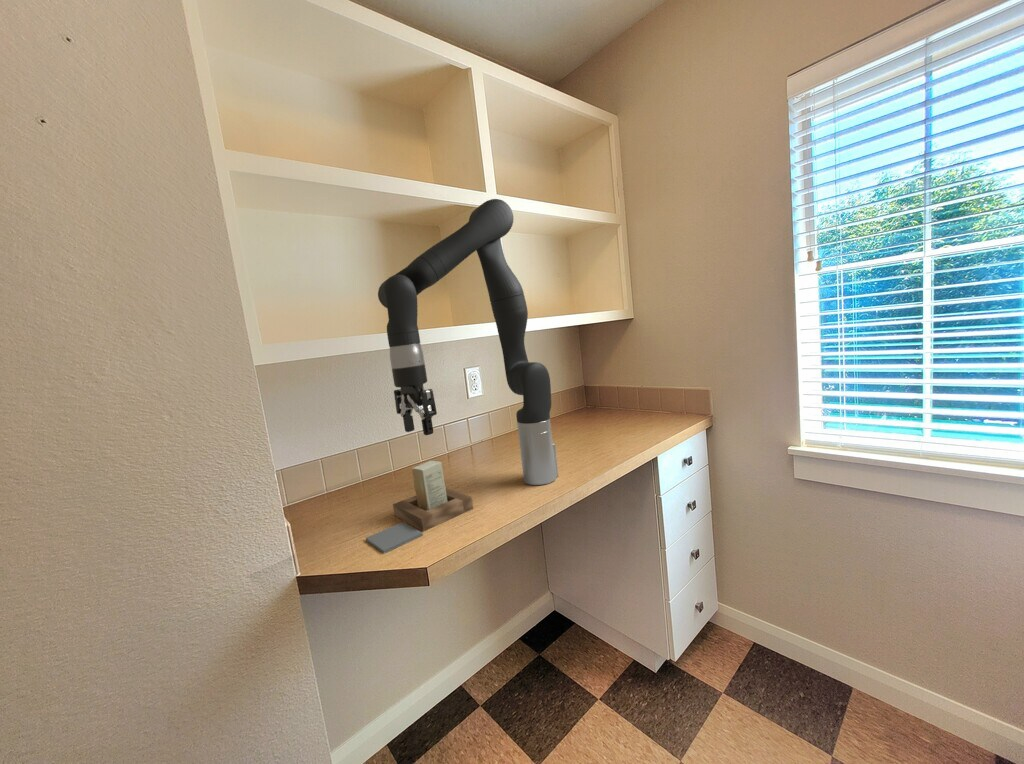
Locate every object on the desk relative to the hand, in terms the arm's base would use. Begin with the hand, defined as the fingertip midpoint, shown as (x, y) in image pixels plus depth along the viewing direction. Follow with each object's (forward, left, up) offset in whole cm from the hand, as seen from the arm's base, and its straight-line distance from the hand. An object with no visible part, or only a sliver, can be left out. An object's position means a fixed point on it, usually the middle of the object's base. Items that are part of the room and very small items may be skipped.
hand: (419, 432), depth 95 cm
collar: (-2, -2, -21) cm, 21 cm away
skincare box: (-2, -2, -21) cm, 21 cm away
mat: (+11, +2, -21) cm, 23 cm away
